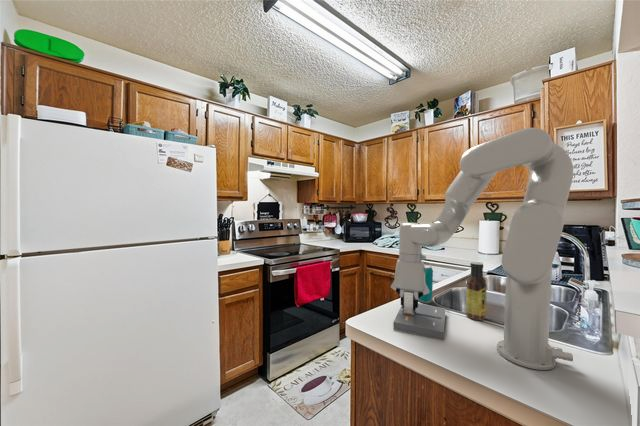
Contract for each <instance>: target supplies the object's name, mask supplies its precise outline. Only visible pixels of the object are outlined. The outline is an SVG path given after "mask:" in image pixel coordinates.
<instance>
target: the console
mask: <svg viewBox="0 0 640 426" xmlns="http://www.w3.org/2000/svg"><path fill="white" fill-rule="evenodd" d="M402 311H403V309H402V305H400V308H399V310H398V312H397V314H396V316H395V318H394V320H393V330H395V331H399V332H403V333H408V334H413V335H419V336H423V337H427V338H432V339H436V340H441V341H444V340H445V339H444V338H445V325H446V324H445V323H446V308H444V307H439V306H433V305H427V304H421V303H418V308H416V311H415V314H414V315H410V314H405V313H402Z"/></svg>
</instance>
